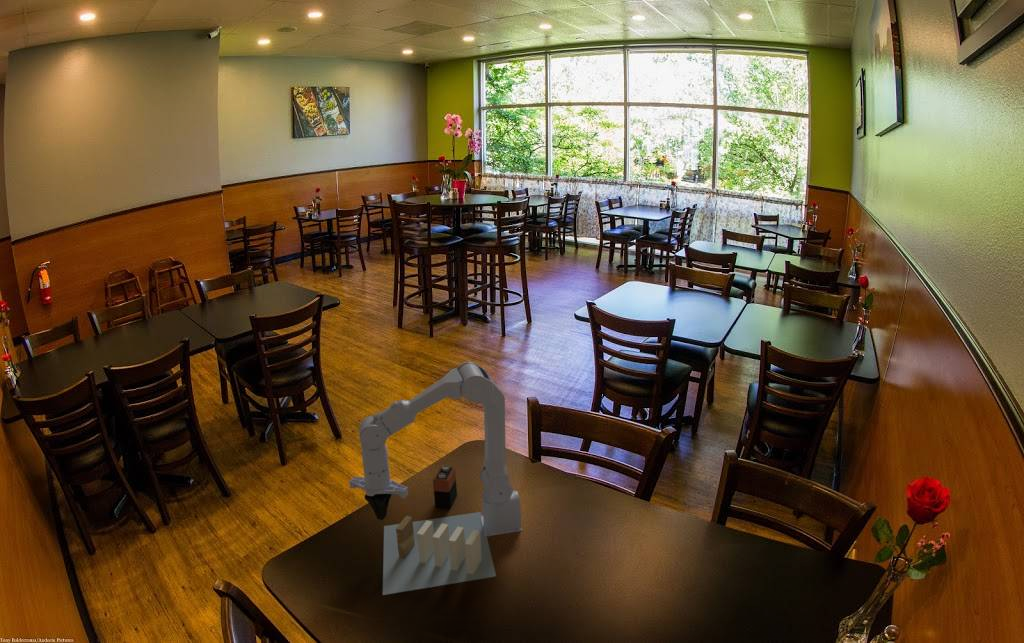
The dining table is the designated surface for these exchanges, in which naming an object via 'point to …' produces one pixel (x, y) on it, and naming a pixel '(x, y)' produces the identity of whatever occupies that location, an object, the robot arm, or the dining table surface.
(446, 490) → the battery
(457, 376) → the robot arm
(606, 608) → the dining table surface
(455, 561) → the domino
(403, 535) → the oak domino
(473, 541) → the domino
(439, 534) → the domino
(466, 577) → the mat
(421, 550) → the domino
